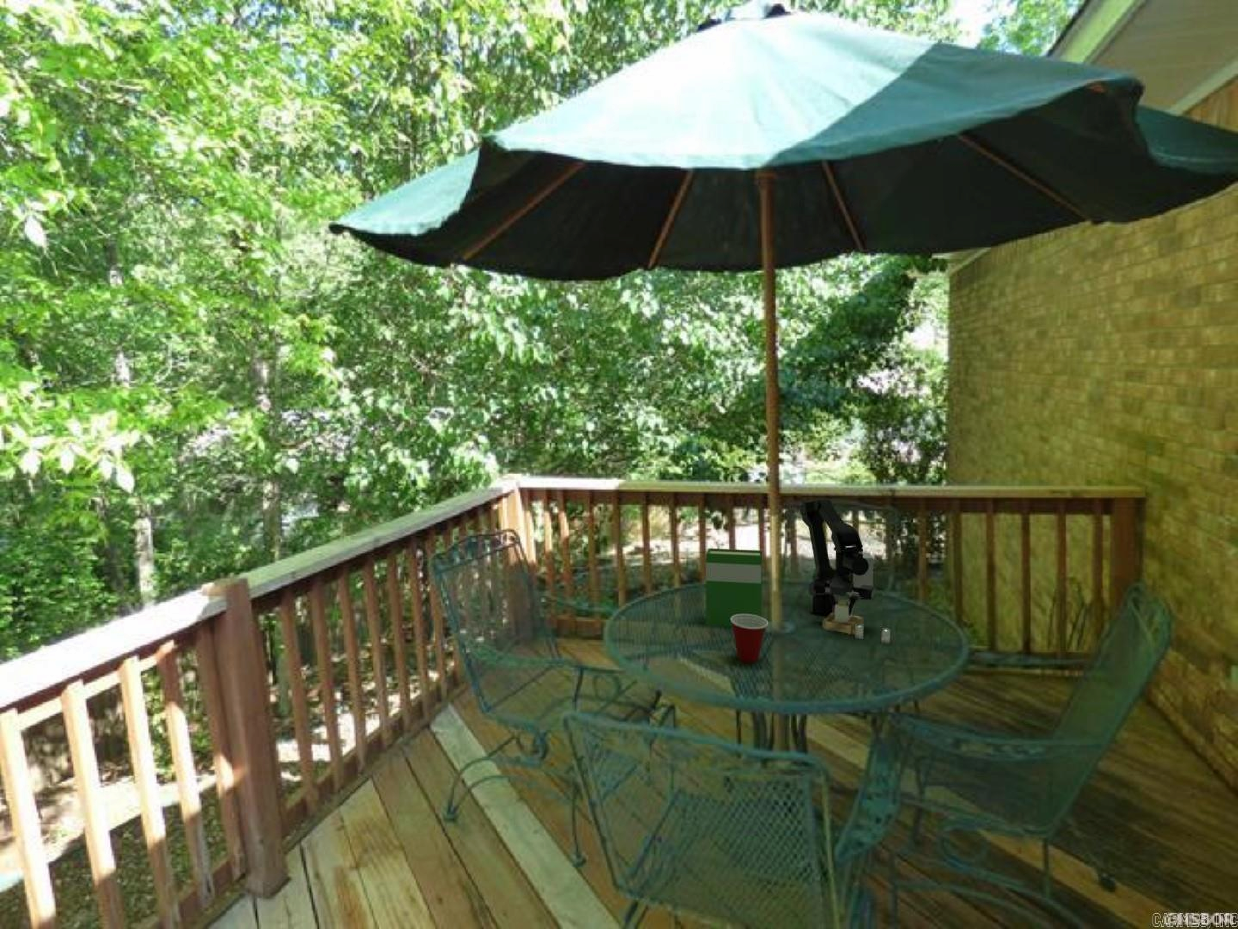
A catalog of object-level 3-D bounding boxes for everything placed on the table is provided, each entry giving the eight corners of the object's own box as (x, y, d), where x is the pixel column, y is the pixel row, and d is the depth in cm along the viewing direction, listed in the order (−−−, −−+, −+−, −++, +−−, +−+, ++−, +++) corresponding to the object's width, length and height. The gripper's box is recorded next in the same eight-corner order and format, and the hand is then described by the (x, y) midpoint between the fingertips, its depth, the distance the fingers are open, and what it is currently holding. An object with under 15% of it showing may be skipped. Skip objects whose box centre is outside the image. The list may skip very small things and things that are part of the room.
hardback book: (761, 621, 253) (762, 550, 250) (760, 628, 246) (761, 556, 243) (708, 617, 257) (708, 548, 254) (705, 625, 249) (706, 553, 246)
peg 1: (854, 638, 236) (854, 625, 236) (856, 635, 238) (856, 623, 238) (861, 639, 235) (862, 627, 234) (863, 637, 237) (864, 624, 236)
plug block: (834, 620, 245) (835, 602, 244) (839, 615, 249) (839, 597, 248) (847, 622, 242) (847, 604, 242) (851, 617, 247) (851, 599, 246)
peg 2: (880, 642, 232) (881, 630, 231) (882, 640, 234) (882, 627, 233) (888, 644, 231) (889, 631, 230) (890, 641, 233) (891, 629, 232)
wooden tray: (821, 629, 244) (821, 622, 244) (832, 619, 254) (832, 612, 253) (854, 635, 238) (854, 627, 238) (863, 624, 248) (864, 617, 248)
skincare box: (868, 594, 281) (870, 552, 279) (873, 600, 274) (874, 557, 272) (845, 593, 281) (846, 551, 279) (849, 599, 274) (850, 556, 272)
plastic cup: (759, 669, 213) (760, 628, 211) (723, 661, 218) (724, 621, 217) (773, 656, 222) (774, 617, 220) (738, 649, 228) (739, 611, 226)
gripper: (807, 569, 242) (806, 616, 244) (867, 577, 232) (866, 626, 234) (818, 561, 251) (817, 607, 253) (876, 568, 241) (875, 616, 243)
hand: (843, 614), depth 245 cm, fingers closed on plug block, 4 cm apart
